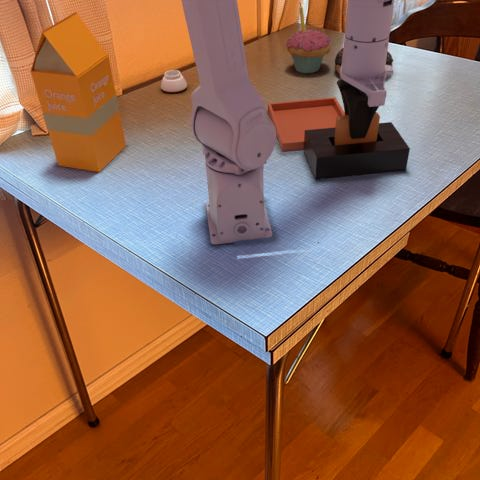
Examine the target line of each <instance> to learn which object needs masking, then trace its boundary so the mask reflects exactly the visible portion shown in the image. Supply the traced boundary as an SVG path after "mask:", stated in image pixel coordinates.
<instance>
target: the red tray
mask: <svg viewBox="0 0 480 480" xmlns="http://www.w3.org/2000/svg"><path fill="white" fill-rule="evenodd" d="M267 114H268V117H269V119H270V120H271V121H272V122H273V124H274V126H275V129H276V139H277V141H278V144H279V146H280V149H281V152H292V151H304V134H305V130H313V129H324V128H334V127H336V116H341V115H345V112H344V108H342V106H341V104H340V102H339V101H338V99H337V97H335V96H334V97H333V96H332V97H323V98H312V99H311V98H310V99H301V100H290V101H279V102H278V101H277V102H268V103H267Z"/></svg>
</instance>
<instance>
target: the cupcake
mask: <svg viewBox="0 0 480 480" xmlns="http://www.w3.org/2000/svg"><path fill="white" fill-rule="evenodd" d="M298 9H299V17H300V28H301V30H300V31H296V32H294V33H293V34H291V35H290V36H289V38H288V39H287V41H286V43H285V45H286V49H287V50H286V51H287V52H289V54H290V55H291V58H292V60H293V61H292V62H293V64H294V69H295V71H296V72H299V73H302V74H312V73H313V74H314V73H316V72H318V71H319V70H320V69H321V65H322V62H323V59H324V58H325V56H326V55H328V54H329V53H330V51H331V48H332V45H331V39H330V37H329V36H328V35H327V34H326V33H324V32H323V31H321V30H318V29H311V28H310V29H306V26H305V24H306V23H305V17H304V15H305V14H304V8H303V6H302V3H301V1H299V8H298Z"/></svg>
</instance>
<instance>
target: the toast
mask: <svg viewBox="0 0 480 480" xmlns="http://www.w3.org/2000/svg"><path fill="white" fill-rule="evenodd" d="M380 120H381V115H380V114H379V112H377V111H376V113H375V115H374V117H373V119H372V122H371V124H370V127H369V130H368V132H367V135H366V137H365V138H359V139H351V136H350V131H349V115H341V116H336V127H335V140H334V146H336V145H346V144H356V143H367V142H377V134H378V127H379V123H380Z"/></svg>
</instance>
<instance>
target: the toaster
mask: <svg viewBox="0 0 480 480" xmlns="http://www.w3.org/2000/svg"><path fill="white" fill-rule="evenodd" d="M334 140H335V127H334V128H324V129H313V130H305V134H304V149H303V153H304V156H305V158H306V160H307V163H308V165H309V168H310V170H311V173H312V175H313V177H314V180H315V181H318V180H320V181H321V180H329V179H339V178H347V177H348V178H350V177H357V176H359V177H360V176H371V175H377V174H389V173H399V172H406V171H407V167H408V161H409V156H410V149H411V148H410V146H409V144H407V142H406V141H405V139H404V138H403V137H402V135H401V134H400V132H399V131H398V130H397V128H396V126H395V125H394V124H393V122H391V121H390V122H379V127H378V134H377V142H367V143H356V144H346V145H336V146H334Z"/></svg>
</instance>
